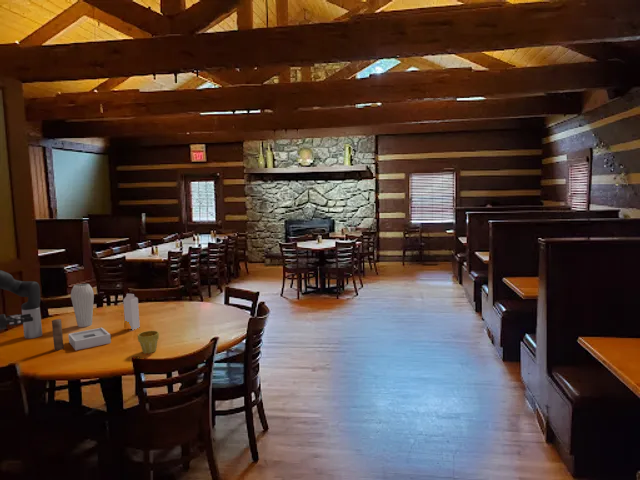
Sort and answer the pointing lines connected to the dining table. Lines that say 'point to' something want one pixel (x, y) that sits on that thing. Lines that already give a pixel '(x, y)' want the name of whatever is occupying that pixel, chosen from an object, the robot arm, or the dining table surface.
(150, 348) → the plant pot
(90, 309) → the vase
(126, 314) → the milk
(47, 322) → the dining table surface
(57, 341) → the peg
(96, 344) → the tray
